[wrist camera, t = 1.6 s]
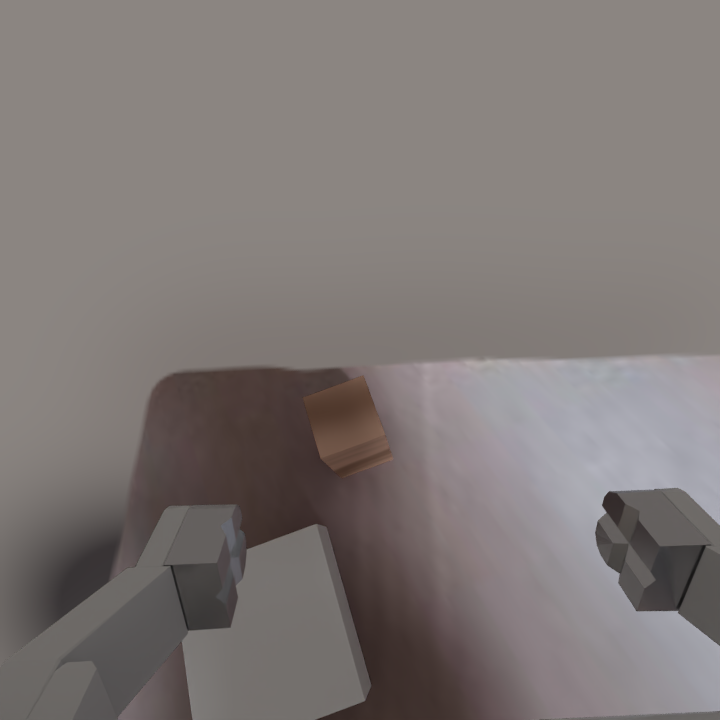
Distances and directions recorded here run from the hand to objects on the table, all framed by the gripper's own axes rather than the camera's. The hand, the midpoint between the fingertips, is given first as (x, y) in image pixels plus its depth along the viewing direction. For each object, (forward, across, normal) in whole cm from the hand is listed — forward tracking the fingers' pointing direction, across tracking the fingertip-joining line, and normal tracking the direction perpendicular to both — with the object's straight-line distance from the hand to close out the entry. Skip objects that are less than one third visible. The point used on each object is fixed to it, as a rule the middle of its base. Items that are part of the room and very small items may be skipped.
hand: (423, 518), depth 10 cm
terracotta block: (+27, +1, +17) cm, 32 cm away
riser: (+17, +8, +27) cm, 33 cm away
